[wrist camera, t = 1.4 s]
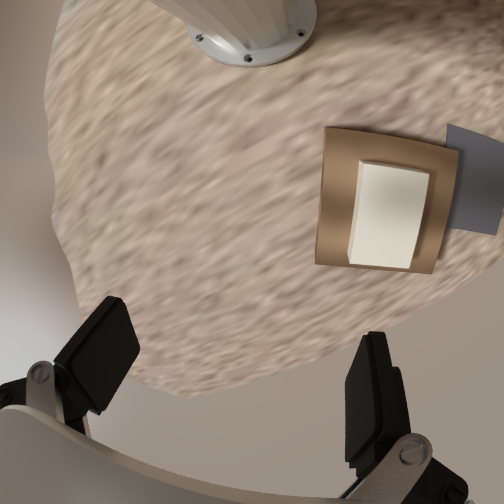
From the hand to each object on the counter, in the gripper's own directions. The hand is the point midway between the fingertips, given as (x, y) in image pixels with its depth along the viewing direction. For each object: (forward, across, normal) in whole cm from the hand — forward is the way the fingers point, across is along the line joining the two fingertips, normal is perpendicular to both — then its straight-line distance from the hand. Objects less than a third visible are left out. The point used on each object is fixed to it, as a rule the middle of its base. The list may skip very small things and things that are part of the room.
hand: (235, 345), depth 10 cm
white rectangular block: (+17, -10, 0) cm, 20 cm away
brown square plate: (+20, -10, 0) cm, 23 cm away
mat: (+20, -22, -4) cm, 30 cm away
